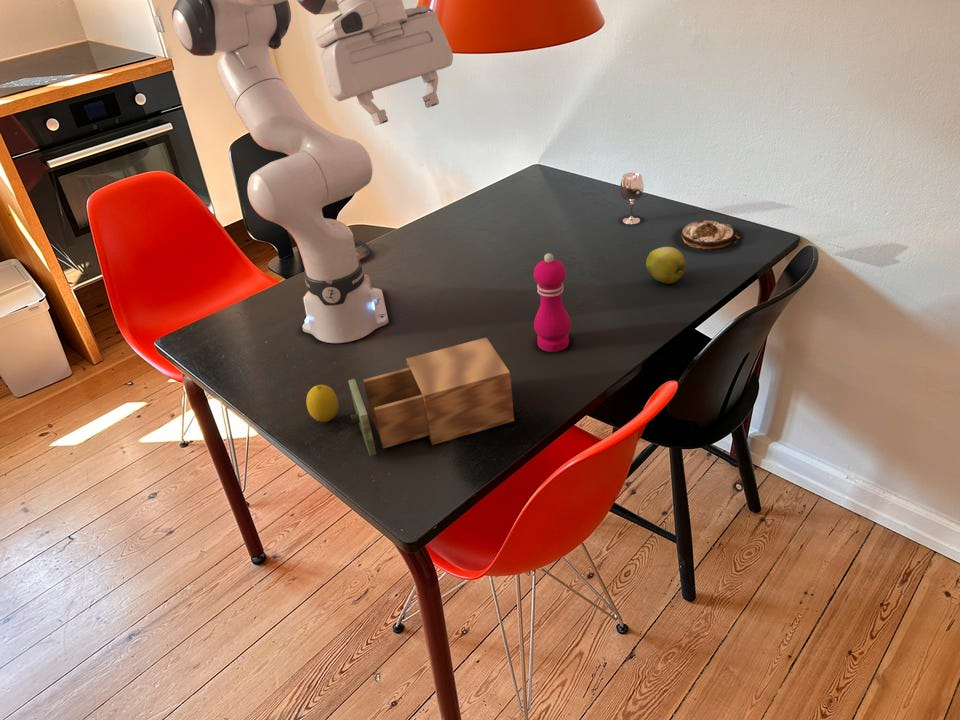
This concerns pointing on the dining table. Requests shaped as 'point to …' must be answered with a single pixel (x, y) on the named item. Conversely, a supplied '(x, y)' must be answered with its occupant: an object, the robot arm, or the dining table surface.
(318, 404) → the lemon
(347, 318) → the robot arm
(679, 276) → the apple
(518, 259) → the dining table surface
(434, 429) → the cabinet
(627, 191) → the wineglass
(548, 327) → the pepper mill
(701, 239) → the mottled flat disc
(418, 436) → the drawer
